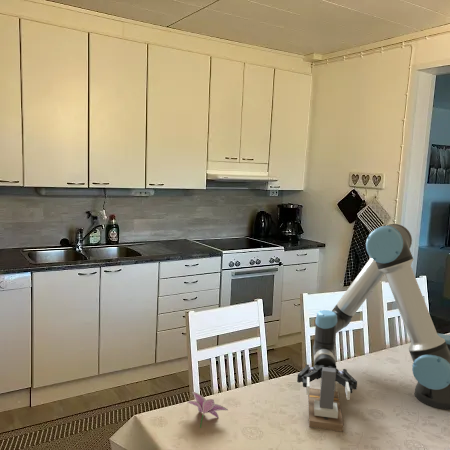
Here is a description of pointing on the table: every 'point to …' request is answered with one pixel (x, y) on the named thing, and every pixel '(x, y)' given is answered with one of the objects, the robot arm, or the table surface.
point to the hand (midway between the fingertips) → (328, 393)
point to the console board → (319, 420)
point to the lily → (206, 405)
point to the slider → (327, 395)
